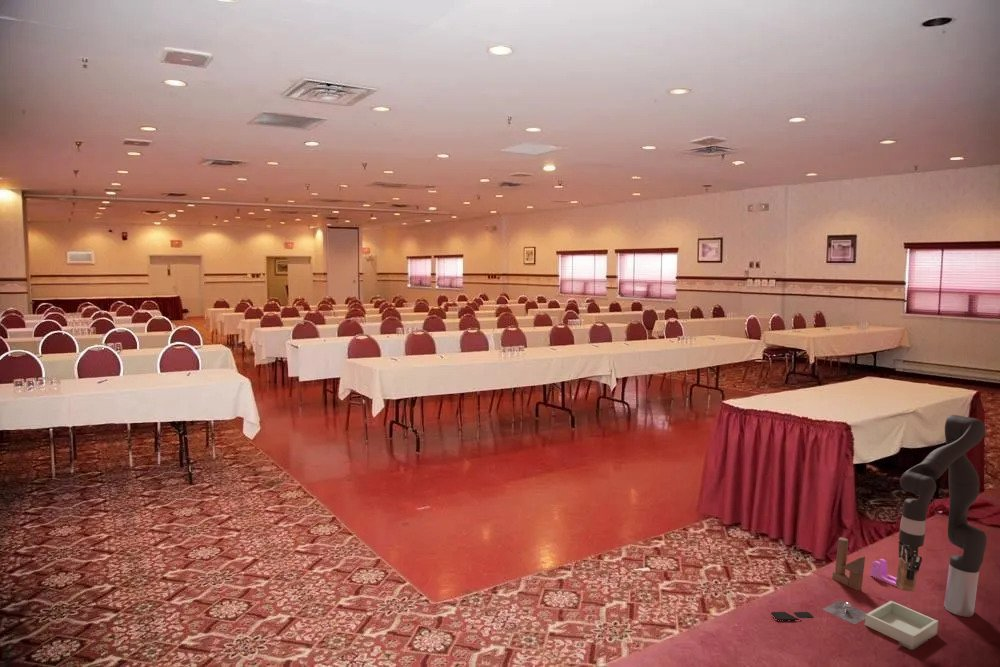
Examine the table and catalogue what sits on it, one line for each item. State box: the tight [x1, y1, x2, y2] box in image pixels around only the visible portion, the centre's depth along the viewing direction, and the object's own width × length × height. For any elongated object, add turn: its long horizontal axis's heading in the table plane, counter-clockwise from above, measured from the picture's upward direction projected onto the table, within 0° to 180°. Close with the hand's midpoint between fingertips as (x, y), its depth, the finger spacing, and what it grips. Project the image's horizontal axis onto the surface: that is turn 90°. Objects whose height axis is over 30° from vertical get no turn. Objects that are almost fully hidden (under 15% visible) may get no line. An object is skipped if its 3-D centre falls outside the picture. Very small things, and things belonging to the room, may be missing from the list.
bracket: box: [870, 558, 898, 588], centre depth 277 cm, size 13×6×7 cm, turn 33°
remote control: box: [770, 611, 815, 622], centre depth 247 cm, size 5×2×15 cm
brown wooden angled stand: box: [831, 536, 866, 592], centre depth 271 cm, size 4×11×18 cm, turn 26°
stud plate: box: [822, 600, 868, 625], centre depth 250 cm, size 12×12×5 cm
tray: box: [864, 600, 939, 651], centre depth 240 cm, size 18×16×5 cm
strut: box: [896, 557, 918, 593], centre depth 238 cm, size 4×4×10 cm
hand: (906, 576), depth 238 cm, fingers closed on strut, 4 cm apart
